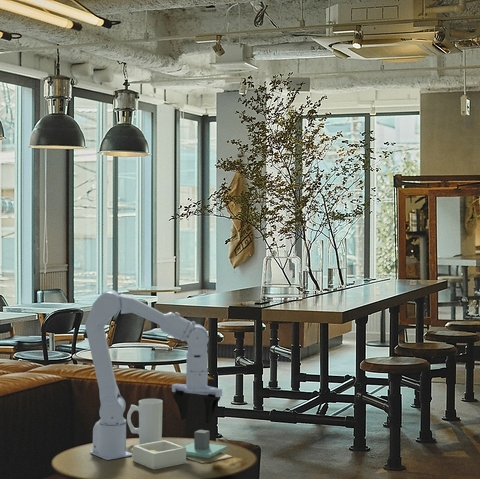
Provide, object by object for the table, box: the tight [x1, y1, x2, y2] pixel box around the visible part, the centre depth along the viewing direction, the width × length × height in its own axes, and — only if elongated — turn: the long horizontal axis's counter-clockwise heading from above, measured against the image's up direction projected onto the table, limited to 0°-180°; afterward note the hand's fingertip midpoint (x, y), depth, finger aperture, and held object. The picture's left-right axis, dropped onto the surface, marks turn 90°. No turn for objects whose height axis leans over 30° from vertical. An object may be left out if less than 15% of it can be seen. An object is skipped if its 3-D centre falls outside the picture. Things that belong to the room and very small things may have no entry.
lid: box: [183, 429, 228, 459], centre depth 245 cm, size 10×10×6 cm
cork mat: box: [186, 452, 234, 465], centre depth 246 cm, size 14×10×1 cm
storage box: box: [132, 439, 187, 470], centre depth 238 cm, size 10×10×4 cm
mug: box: [126, 398, 163, 445], centre depth 258 cm, size 10×7×12 cm, turn 90°
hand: (196, 420), depth 245 cm, fingers open, 7 cm apart
